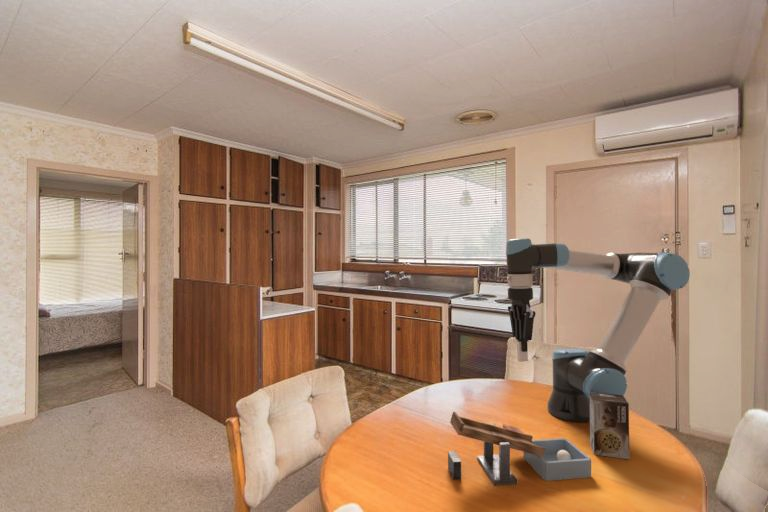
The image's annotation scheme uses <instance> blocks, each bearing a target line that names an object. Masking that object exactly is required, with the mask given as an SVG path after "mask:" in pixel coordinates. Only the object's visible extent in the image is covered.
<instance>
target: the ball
mask: <svg viewBox="0 0 768 512" xmlns="http://www.w3.org/2000/svg"><path fill="white" fill-rule="evenodd" d="M557 459H558V461H559V460H571V456H570V454H569V453H568V452H567V451H565V450H560V451H558V453H557Z"/></svg>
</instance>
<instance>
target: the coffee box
mask: <svg viewBox="0 0 768 512" xmlns="http://www.w3.org/2000/svg"><path fill="white" fill-rule="evenodd" d="M629 409H630V404H629V402H628V401H627V399H626V397H625V395H614V394H604V393H592V392H590V421H589V446H590V448H591V450H592V453H593V455H595V456H603V457H608V458H616V459H621V460H622V459H623V460H624V459H625V460H630V459H631V458H630V456H631V455H630V415H629V414H630V412H629V411H630V410H629Z"/></svg>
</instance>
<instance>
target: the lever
mask: <svg viewBox="0 0 768 512" xmlns="http://www.w3.org/2000/svg"><path fill="white" fill-rule="evenodd" d="M449 423H450V424H451V426H452V428H453V429H454V431H455V432H456V433H457V435H458V436H462V437H466V438H469V439H473V440H477V441H480V442H481V441H482V442H483V443H484V442H488V443H492V444H493V445H497V446H499V443H503V442H508V443H509V444H510V450H511V449H512V450H516V451H519V452H527V453H531V454H535V455H538V456H542V457H543V455H544V451H545V448H544V447H541V446H537V445H535V444H534V443H533V442H532V440H533V438H534V436H533V435H531V434H527V433H524V432H523V430H522V429H520V428H519V427H517V426H512V425H509V424H502V427H501V426H497V425H494V424H493V425H490V424H491V423H485V422H481V421H478V420H473V419H470V418H467V417H465V416H464V417H463V416H460V415H458V414H457V412H455V411H453V412H452V415H451V418H450V421H449Z"/></svg>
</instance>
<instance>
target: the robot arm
mask: <svg viewBox="0 0 768 512" xmlns="http://www.w3.org/2000/svg"><path fill="white" fill-rule="evenodd" d="M505 247H506V249H505V251H506V252H505V256H506V268H507V269H506V270H507V273H506V275H507V277H506V280H507V286H508V288H507V299H508V300H511V306H507V311H508V313H509V320H510V325H511V326H510V327H511V333H512V336H513V337H514V338H515V341H516V347H517V348H516V350H517V352H516V354H517V361H518V362H521V363H522V362H528V361H529V359H528V358H529V357H528V355H529V354H528V342H529V341H532V340H533V339H532V338H533V329H534V320H535V317H536V311H534V310H531V304H530V301H531V300H533V299H534V290H533V285H534V284H533V283H534V281H533V269H536V268H542V269H543V268H544V269H549V270H550V269H551V270H558V271H566V272H572V273H573V272H574V273H581V274H590V275H597V276H602V277H603V278H605V279H607V280H613V281H618V282H621V283H626V284H629V286H630V287H631V289H630V290H629V292H628V294H627V295H626V298H625V299H624V301H623V303H621V306H620V308H619V310H618V311H617V313H616V314H615V316H614V318H613V320H612V322H611V323H610V325H609V327H608V329H607V330H606V332H605V334H604V336H603V337H602V339H601V341H600V342H599V343H598V345H597V347H596V349H592V350H591V349H590V350H585V349H579V348H558V349H554V350H553V352H552V359H551V360H552V361H551V362H552V391H551V393H550V396H549V400H548V402H547V411H548V413H550V414H551V415H552V416H554V417H556V418H559V419H561V420H565V421H569V422H575V423H586V422H590V392H592V393H604V394H614V395H623V396H625V394H626V392H627V389H628V385H627V382H628V381H627V379H626V376H625V375H626V373H627V368H626V365H625V363H626V362H627V360H628V358H629V356H630V354H631V353H632V351H633V349H634V348H635V346H636V344H637V342H638V340H639V339H640V336H641V335H642V334H643V331H644V330H645V328H646V326H647V325H648V323H649V321H650V320H651V317H652V315H653V314H654V312H655V311H656V310H657V309H656V308H657V307H658V305H659V303H660V302H661V301H663V300H664V301H665V300H668V299H669V297H670V295H671V294H672V292H673V291H676V290H680V289H683V288H684V287H686V286H687V284H688V282H689V280H690V276H691V274H690V269H689V264H688V263H687V261H686V260H685V258H683V256H681V255H679V254H677V253H672V252H666V251H665V252H664V251H662V252H628V253H614V252H609V253H606V254H601V253H593V252H586V251H578V250H570V249H569V248H568V246H567V245H566V244H564V243H540V244H539V243H538V244H537V243H536V244H533V243H532V240H531V239H530V238H513V239H512V238H511V239H509V240H507V241H506V245H505Z"/></svg>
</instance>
